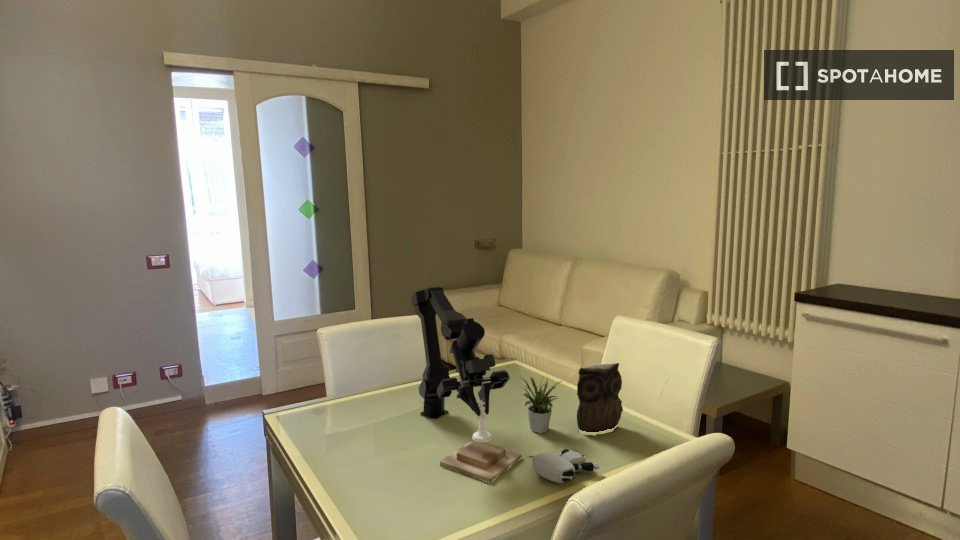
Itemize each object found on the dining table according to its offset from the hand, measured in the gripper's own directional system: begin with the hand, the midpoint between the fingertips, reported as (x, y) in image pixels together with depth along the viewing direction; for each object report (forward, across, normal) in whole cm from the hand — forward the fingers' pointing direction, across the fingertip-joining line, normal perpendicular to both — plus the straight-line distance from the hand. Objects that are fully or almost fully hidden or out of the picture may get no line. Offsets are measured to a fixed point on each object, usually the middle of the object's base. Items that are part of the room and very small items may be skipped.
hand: (483, 414), depth 130 cm
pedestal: (+8, 0, +10) cm, 13 cm away
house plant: (+1, +23, +18) cm, 29 cm away
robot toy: (+18, +16, +1) cm, 24 cm away
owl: (+5, +40, +14) cm, 43 cm away
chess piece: (+4, 0, +6) cm, 7 cm away
